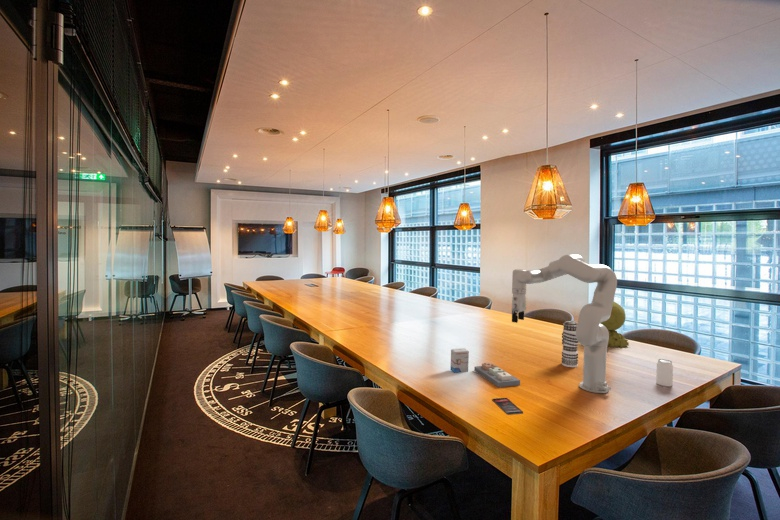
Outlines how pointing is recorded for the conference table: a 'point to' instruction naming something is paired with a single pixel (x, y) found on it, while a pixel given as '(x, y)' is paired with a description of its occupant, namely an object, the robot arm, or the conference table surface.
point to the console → (496, 380)
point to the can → (664, 373)
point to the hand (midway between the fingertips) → (517, 320)
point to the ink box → (459, 360)
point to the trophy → (615, 327)
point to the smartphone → (507, 406)
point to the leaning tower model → (569, 344)
